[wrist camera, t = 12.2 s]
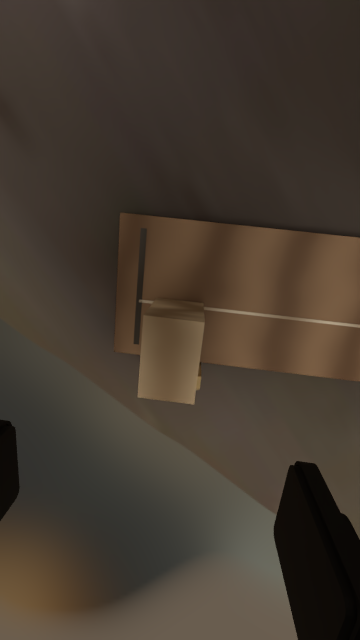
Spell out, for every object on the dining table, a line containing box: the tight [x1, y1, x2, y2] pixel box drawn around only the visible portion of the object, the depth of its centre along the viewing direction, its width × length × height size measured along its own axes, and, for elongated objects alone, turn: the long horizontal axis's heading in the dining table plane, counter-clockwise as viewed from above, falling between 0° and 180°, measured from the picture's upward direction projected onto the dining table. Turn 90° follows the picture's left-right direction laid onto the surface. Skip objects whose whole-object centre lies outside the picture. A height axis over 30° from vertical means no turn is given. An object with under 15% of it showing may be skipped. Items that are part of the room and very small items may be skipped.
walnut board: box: [114, 213, 360, 381], centre depth 26 cm, size 30×12×3 cm, turn 84°
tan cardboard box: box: [138, 298, 205, 404], centre depth 24 cm, size 5×7×8 cm
